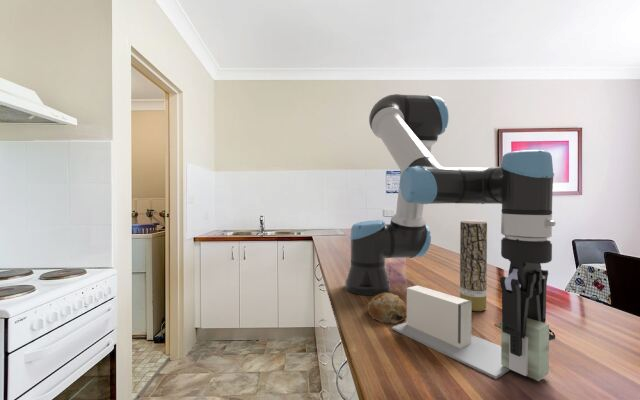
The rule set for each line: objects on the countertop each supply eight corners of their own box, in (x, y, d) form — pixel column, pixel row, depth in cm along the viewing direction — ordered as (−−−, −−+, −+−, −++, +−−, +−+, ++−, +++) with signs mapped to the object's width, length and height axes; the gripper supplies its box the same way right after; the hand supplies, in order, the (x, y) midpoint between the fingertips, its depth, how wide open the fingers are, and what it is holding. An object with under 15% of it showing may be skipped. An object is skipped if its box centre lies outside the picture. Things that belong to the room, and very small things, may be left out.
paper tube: (489, 313, 83) (490, 222, 83) (463, 311, 84) (463, 221, 84) (481, 304, 90) (482, 220, 89) (457, 302, 91) (457, 219, 91)
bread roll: (379, 338, 76) (388, 314, 73) (358, 308, 84) (365, 286, 81) (408, 330, 80) (418, 307, 77) (386, 303, 89) (394, 281, 85)
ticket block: (392, 329, 73) (392, 289, 73) (424, 318, 79) (424, 281, 79) (496, 379, 53) (496, 324, 53) (526, 358, 59) (527, 310, 59)
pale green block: (501, 364, 56) (501, 317, 56) (511, 358, 58) (511, 313, 58) (538, 381, 51) (539, 329, 51) (548, 373, 53) (549, 324, 53)
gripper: (527, 244, 46) (526, 396, 47) (569, 236, 56) (567, 362, 56) (479, 238, 53) (478, 372, 53) (524, 232, 62) (522, 346, 62)
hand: (524, 367), depth 54 cm, fingers closed on pale green block, 4 cm apart
